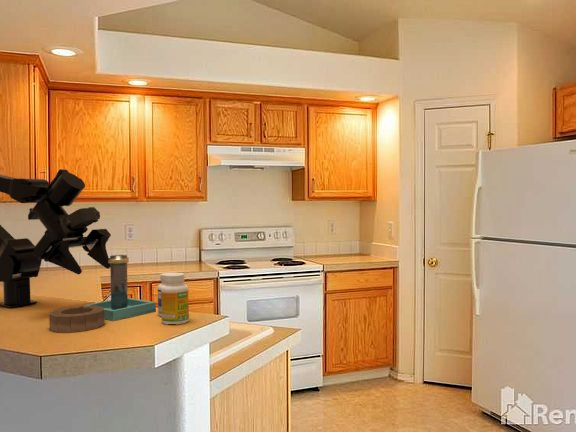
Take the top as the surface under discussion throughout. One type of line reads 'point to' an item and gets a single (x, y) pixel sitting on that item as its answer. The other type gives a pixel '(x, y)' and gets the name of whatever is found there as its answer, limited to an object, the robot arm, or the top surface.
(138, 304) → the tray
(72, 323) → the socket
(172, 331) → the top surface
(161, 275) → the pill bottle
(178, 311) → the supplement bottle
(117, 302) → the steel pin
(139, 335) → the top surface
